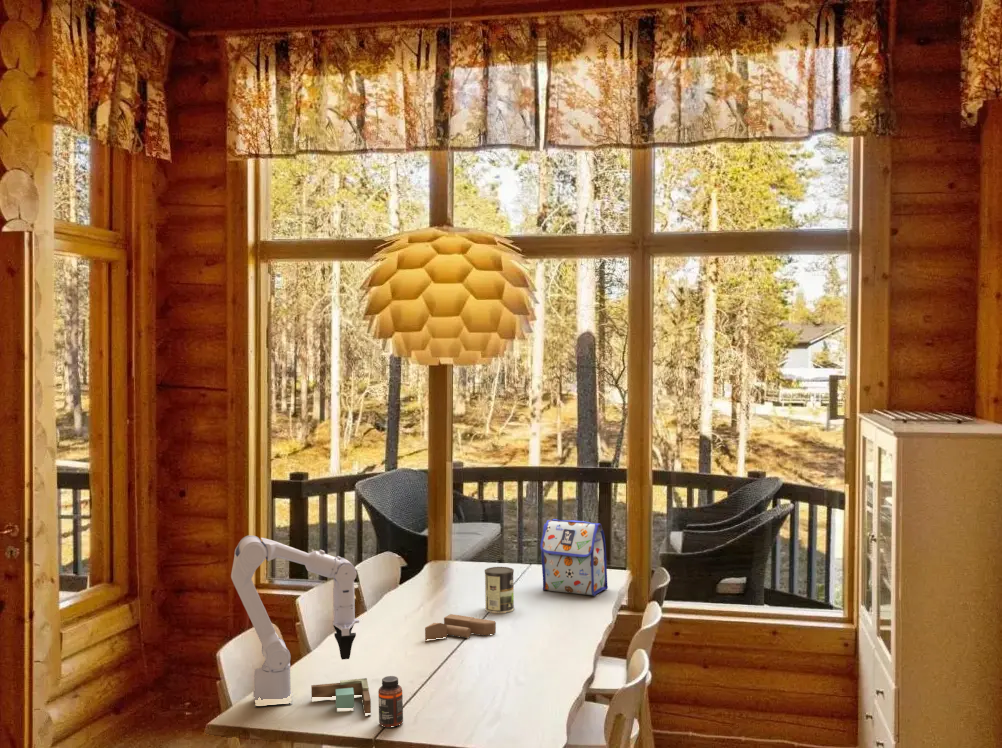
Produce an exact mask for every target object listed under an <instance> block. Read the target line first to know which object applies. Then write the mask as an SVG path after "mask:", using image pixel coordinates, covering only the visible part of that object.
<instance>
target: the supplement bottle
mask: <svg viewBox="0 0 1002 748" xmlns="http://www.w3.org/2000/svg"><path fill="white" fill-rule="evenodd" d="M377 693H378V724H379V723H380V724H381V725H383V726H385V727H384V728H386V727H391V726H397V725H399V724H401V723H402V722H404V709H403V708H404V707H403V706H404V704H403V702H404V701H403V688H402V686H401V685H399V677H398V676H395V675H388V676H387V675H386V676H384V677H383V678H382V679H381V686H380V687H379V688H378V692H377ZM380 724H379V725H380ZM402 724H403V723H402ZM402 724H401V725H402ZM381 725H380V726H381ZM383 726H382V727H383ZM399 726H400V725H399ZM397 727H398V726H397Z"/></svg>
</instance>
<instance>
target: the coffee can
mask: <svg viewBox="0 0 1002 748" xmlns="http://www.w3.org/2000/svg"><path fill="white" fill-rule="evenodd" d="M484 580H485V581H484V583H485V584H484V585H485V586H484V587H485V588H484V589H485V591H484V592H485V594H484V597H485V609H486V610H487V611H488V613H490V612H491V614H507V613H506V612H508V613H511V612H513V611H514V610H515V605H514V603H515V601H514V598H515V597H514V596H515V595H514V594H515V593H514V569H513V568H511V567H508V566H492V567H487V568H486V569H484ZM486 610H485V611H486ZM487 611H486V612H487Z"/></svg>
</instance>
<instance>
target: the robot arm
mask: <svg viewBox="0 0 1002 748" xmlns="http://www.w3.org/2000/svg"><path fill="white" fill-rule="evenodd" d="M233 556H234V557H233V562H232V568H231V574H230V578H231V581H232V583H233V586H234V588H235V590H236V592H237V594H238V596H239V598H240V600H241V603H242V605H243V607H244V609H245V611H246V613H247V615H248V618H249V620H250V621H251V624H252V626H253V629H254V630H255V633H256V634H257V637H258V639H259V642H260V643H261V654H262V656H263V657H264V661H263V664H262V665H261V667H259V668H254V671H253V672H254V675H253V677H254V679H253V685H254V686H253V687H254V689H253V698H254V697H255V698H254V701H255V700H258V698H259V697H260V698H261V700H263V699H283V698H287V697H288V696H290V694H291V692H292V690H291V687H292V686H291V658H292V657H291V655H292V654H291V653H290V650H289V649H288V647H287V646H286V643H285V641H284V639H282V638H280V637H279V635H278V633H277V632H276V630H275V627H274V625H273V623H272V621H271V618H270V617H269V615H268V612H267V610H266V607H265V606H264V604H263V601H262V600H261V597H260V595H259V593H258V591H257V588H256V586H255V583H254V582H253V577H254V575H255V572H256V571H257V569H258V568H259V567H260V566H261V565H262V564H263V563H264V561H265V560H266V561H267V562H269V561H272V560H275V559H281V560H285V561H289V562H293V563H296V564H300V565H304V566H305V569H306V570H307V572H309V573H312V574H316V575H319V576H322V577H326V578H329V579H333V588H332V599H333V600H332V601H333V603H332V604H333V606H332V607H333V608H332V610H333V611H332V612H333V620H332V627H333V628H334V631H335V632H334V638H335V641H336V642H337V644H338V648H339V649H338V650H339V654H340V655H339V656H340V659H341V660H350V658H351V657H350V656H351V655H352V654H351V652H352V646H353V643H354V640H355V638H356V637H357V634H356V632H352V631H353V628H354V626H355V624H359V623H360V619H359V618H356V613H355V612H356V608H355V607H356V606H355V605H356V604H355V602H356V599H355V596H356V595H355V580H356V578H357V574H358V572H357V571H356V568H355V566H354V564H353V563H352V562H351V561H350V560H348V559H346V558H345V557H341V556H339V555H337V556H333V555H332V554H331V555H330V554H328V553H326V551H325V550H322V549H319V550H313V551H311V552H306V551H303V550H300V549H298V548H295V547H292V546H289V545H286V544H284V543H281V542H278V541H276V540H272V539H270V538H266V537H260V538H259V537H258V536H256V535H251V534H250V535H249V534H248V535H246V536H244V537H242V538H241V539H240V541H239V542H238V544H237V546H236V547H235V549H234V555H233Z"/></svg>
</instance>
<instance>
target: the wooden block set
mask: <svg viewBox="0 0 1002 748" xmlns="http://www.w3.org/2000/svg"><path fill="white" fill-rule="evenodd" d="M496 624H497V622H496V620H491V619H483V618H477V617H473V616H469V615H468V616H467V615H459V614H452V613H450V614H448V615H446V616H445V617H443V622H433V623H431V624H429V625H427V626H426V627H424V637H425V638H424V641H425V640H427V639H436V638H443V637H447V638H448V636H450V635H454V636H453V637H456V636H460V637H459V638H463V637H465V639H469V638H470V637H471V635H472V634H471V633H474V634H473V635H476V634H480V635H479V636H483V635H487V636H491V635H490V634H493V635H495V634H496V633H497V625H496ZM494 633H495V634H494ZM447 634H448V635H447ZM469 636H470V637H469ZM468 637H469V638H468Z"/></svg>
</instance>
